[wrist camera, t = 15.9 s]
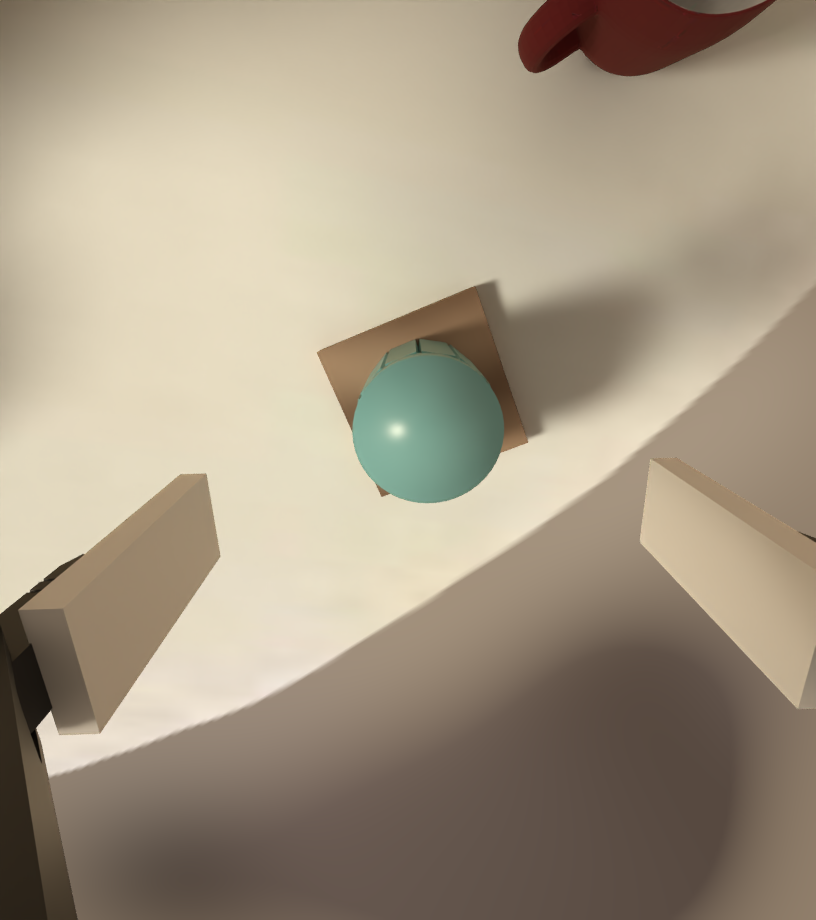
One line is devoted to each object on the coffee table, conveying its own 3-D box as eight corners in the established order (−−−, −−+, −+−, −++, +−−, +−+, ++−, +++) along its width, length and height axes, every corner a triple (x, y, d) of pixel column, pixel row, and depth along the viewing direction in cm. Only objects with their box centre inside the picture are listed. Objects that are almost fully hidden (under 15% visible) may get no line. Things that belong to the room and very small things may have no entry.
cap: (348, 366, 30) (327, 391, 23) (458, 321, 29) (474, 331, 22) (392, 468, 32) (387, 522, 25) (496, 429, 31) (523, 473, 24)
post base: (320, 350, 31) (296, 365, 25) (472, 286, 30) (489, 285, 24) (382, 490, 34) (376, 535, 28) (524, 437, 33) (551, 472, 26)
